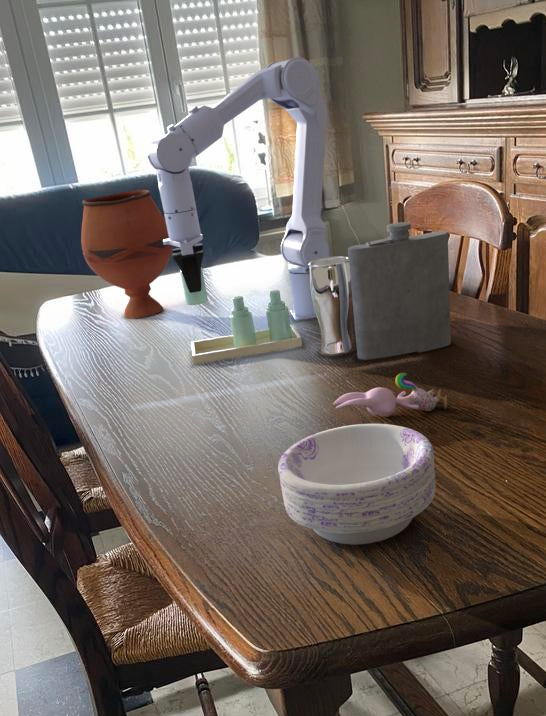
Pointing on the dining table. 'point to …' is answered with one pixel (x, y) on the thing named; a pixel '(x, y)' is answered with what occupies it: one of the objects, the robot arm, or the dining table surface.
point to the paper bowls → (358, 481)
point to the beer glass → (333, 303)
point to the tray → (226, 350)
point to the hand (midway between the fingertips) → (195, 289)
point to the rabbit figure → (392, 399)
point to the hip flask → (400, 293)
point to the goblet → (127, 245)
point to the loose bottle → (195, 297)
